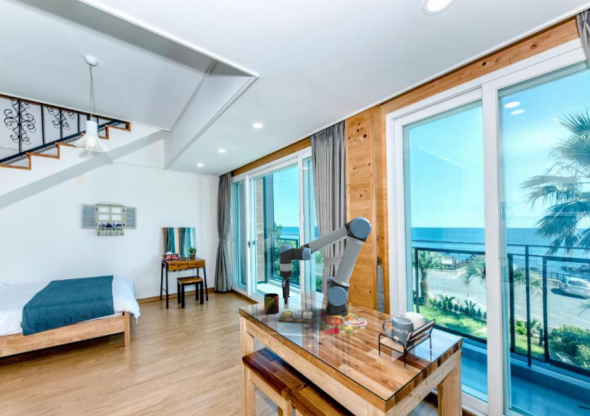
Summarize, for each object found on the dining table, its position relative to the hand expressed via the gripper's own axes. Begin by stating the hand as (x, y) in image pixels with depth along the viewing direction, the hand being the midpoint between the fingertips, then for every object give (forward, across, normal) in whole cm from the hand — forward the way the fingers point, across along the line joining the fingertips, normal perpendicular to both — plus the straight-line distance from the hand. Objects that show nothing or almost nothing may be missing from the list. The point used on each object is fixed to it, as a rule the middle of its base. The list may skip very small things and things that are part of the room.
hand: (286, 308), depth 162 cm
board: (+7, 0, +7) cm, 9 cm away
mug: (+7, -10, -13) cm, 18 cm away
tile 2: (+6, 0, +13) cm, 14 cm away
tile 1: (+6, 0, 0) cm, 6 cm away
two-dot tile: (+6, 0, +7) cm, 9 cm away
